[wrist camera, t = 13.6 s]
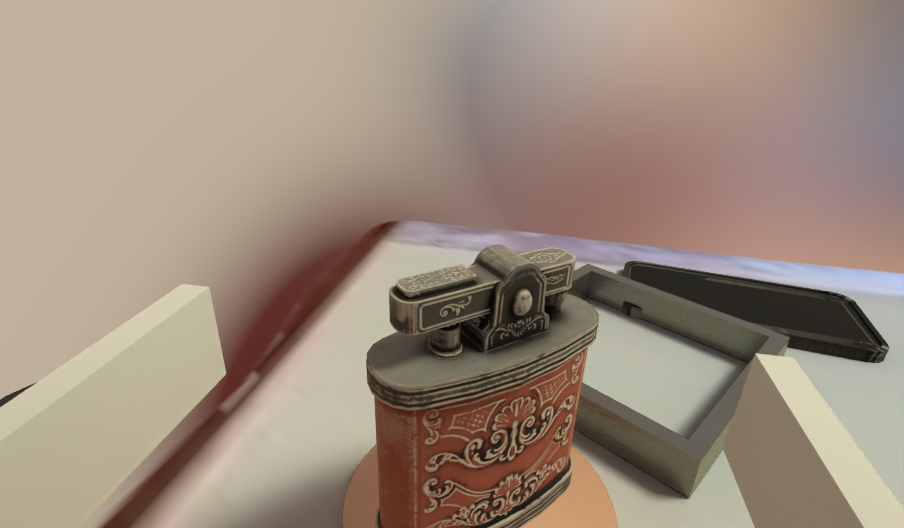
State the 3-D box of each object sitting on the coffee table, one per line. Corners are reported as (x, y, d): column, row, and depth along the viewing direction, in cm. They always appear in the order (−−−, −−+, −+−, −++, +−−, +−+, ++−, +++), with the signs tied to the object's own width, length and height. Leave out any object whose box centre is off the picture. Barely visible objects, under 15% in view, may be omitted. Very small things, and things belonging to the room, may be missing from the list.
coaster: (663, 519, 19) (667, 504, 19) (490, 761, 13) (492, 745, 12) (471, 393, 26) (472, 380, 25) (291, 512, 19) (288, 497, 19)
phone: (896, 355, 28) (620, 304, 33) (888, 372, 29) (617, 318, 33) (849, 294, 35) (625, 258, 40) (843, 308, 36) (623, 271, 40)
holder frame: (779, 367, 28) (790, 337, 27) (689, 498, 20) (700, 461, 19) (583, 289, 36) (587, 263, 35) (462, 359, 28) (463, 329, 27)
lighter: (533, 433, 22) (561, 217, 18) (590, 489, 19) (638, 252, 15) (360, 514, 18) (342, 262, 14) (402, 597, 16) (395, 319, 11)
